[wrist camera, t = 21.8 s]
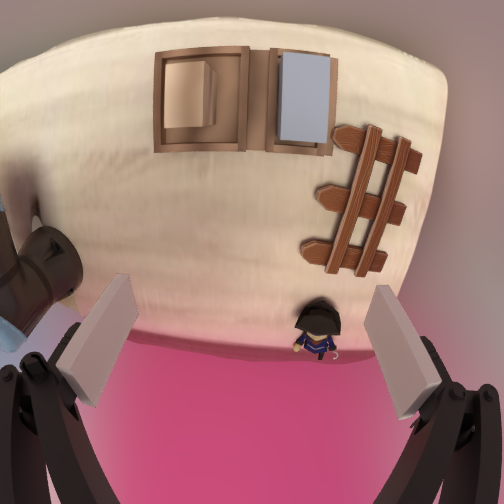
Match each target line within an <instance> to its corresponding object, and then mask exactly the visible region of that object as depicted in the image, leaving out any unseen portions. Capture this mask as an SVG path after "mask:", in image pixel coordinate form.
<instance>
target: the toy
mask: <svg viewBox="0 0 504 504" xmlns="http://www.w3.org/2000/svg"><path fill="white" fill-rule="evenodd" d="M295 328H297V329H300V330H303V331H305V332H304V334H303V335H302V336H301V337H300V338H299V339H297V341H296V343H295V344H294V351H296V352H297V351H299V349H300V345H301V346H302V345H303V344H304V342H303V341H304V339H305V338H306V339H307V340H305V344H304V348H305V349H307V350H309V351H311V352H312V353H314V354H316V353H319V357H318V360H322V358H323V355H324V352H327V348H328V349H329V351H333V352H334V350H335V349H337V348H336V346H335V344H334V342H333V340H332V338H331V335H340V331H341V321H340V316H339V313H338V312H337V311H336V310H335V309H334V308H333V307H332V306H330V305H329V304H327V303H326V302H324V301H320V302H317V303H313V304H310V305H308V306H307V307H305V308H304V309H303V311H302V313H301V314H300V316H299V318H298V320H297V323H296V325H295ZM327 341H328V343H329V344H328V343H327ZM328 345H329V347H328ZM334 353H336V354H337V357H338V353H337V352H334ZM337 357H336V358H333V359H337Z"/></svg>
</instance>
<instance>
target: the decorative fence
mask: <svg viewBox="0 0 504 504" xmlns="http://www.w3.org/2000/svg"><path fill="white" fill-rule="evenodd" d="M381 134H382V129H381V128H379V127H376V126H373V125H371V124H369V125H368V126H367V130H366V131H365V130H362V129H359V128H356V127H353V126H350V125H343V126H340V127H337V128H333V130H332V134H331V139H332V140H333V141H334V142H335V144H336V145H337V146H338V147H339V148H340V149H342V150H345V151H349V152H352V153H355V154H359V155H360V158H359V162H358V166H357V169H356V173H355V176H354V180H353V184H352V187H351V189H348V188H344V187H339V186H335V185H328V186H325V187H322V188H320V189H318V190H317V194H316V197H315V198H316V200H317V201H318V202H319V203H320V204H321V205H322V206H323V207H324V208H325V209H326V210H329V211H334V212H339V213H344V214H343V217H342V220H341V223H340V226H339V229H338V232H337V235H336V238H335V241H334V243H329V242H322V241H316V240H314V241H311V242H309V243H306V244H304V245H302V247H301V251H300V254H301V256H302V257H303V258H304V259H305V260H306V261H307V262H308V263H310V264H316V265H324V266H326V267H325V270H324V271H325V273H329V274H337V273H338V271H339V268H348V269H355V272H354V276H356V277H365V276H366V274H367V272H368V271H372V272H381V270H382V268H383V266H384V263H385V261H386V259H387V256H388V254H387V253H386V252H384V251H378V250H377V247H378V245H379V242H380V240H381V237H382V235H383V232H384V229H385V226H386V224H387V223H389V224H393V225H397V226H400V224H401V221H402V218H403V215H404V213H405V210H406V207H407V206H406V205H404V204H403V203H399V202H396V201H395V198H396V195H397V191H398V188H399V185H400V182H401V178H402V175H403V172H404V170H406V171H408V172H411V173H413V174H417V172H418V169H419V166H420V162H421V158H422V155H423V154H422V153H420V152H418V151H415V150H413V149H411V148H410V146H411V141H410V140H408V139H406V138H403V137H399V138H398V142H397V143H396V142H394V141H391V140H389V139H386V138H384V137H381ZM375 160H377V161H380V162H383V163H386V164H389V165H391V168H390V171H389V175H388V178H387V182H386V185H385V188H384V191H383V195H382V197H378V196H375V195H371V194H367V193H366V189H367V186H368V183H369V179H370V176H371V172H372V169H373V165H374V161H375ZM358 217H363V218H367V219H372V220H374V222H373V224H372V227H371V230H370V233H369V236H368V238H367V241H366V244H365V246H364V248H360V247H354V246H348V244H349V241H350V238H351V235H352V233H353V230H354V227H355V224H356V221H357V218H358Z"/></svg>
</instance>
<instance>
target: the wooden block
mask: <svg viewBox="0 0 504 504" xmlns="http://www.w3.org/2000/svg"><path fill="white" fill-rule="evenodd" d="M217 78H218V74H217V73H216V72H215V71H214V70H213V69H212V68H211V67H210V66H209V65H208V64H207V63H206V62H205V61H197V62H184V63H174V64H166V70H165V101H164V128H176V127H203V126H208V125H214V124H216V106H217Z"/></svg>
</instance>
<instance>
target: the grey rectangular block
mask: <svg viewBox="0 0 504 504" xmlns="http://www.w3.org/2000/svg"><path fill="white" fill-rule="evenodd" d="M329 90H330V57H326V56H319V55H311V54H302V53H292V52H283V54H282V57H281V59H280V62H279V71H278V104H277V132H276V136H277V137H278V138H279V139H280V140H292V141H306V142H317V143H327V130H328V113H329Z"/></svg>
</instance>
